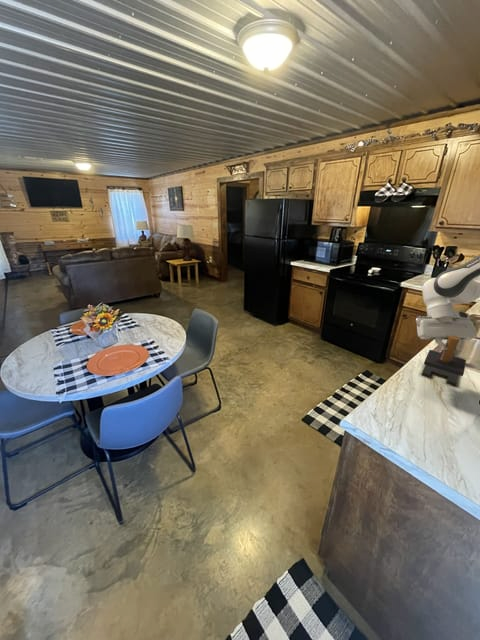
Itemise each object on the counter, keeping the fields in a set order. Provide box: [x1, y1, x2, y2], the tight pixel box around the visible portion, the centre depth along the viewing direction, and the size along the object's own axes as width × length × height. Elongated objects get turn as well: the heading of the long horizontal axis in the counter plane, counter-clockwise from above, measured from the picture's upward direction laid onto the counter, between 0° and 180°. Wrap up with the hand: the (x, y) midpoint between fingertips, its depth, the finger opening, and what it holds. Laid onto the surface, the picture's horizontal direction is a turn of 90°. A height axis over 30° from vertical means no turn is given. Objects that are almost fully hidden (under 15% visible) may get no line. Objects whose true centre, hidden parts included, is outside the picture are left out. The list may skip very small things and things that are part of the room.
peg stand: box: [423, 336, 467, 377], centre depth 101 cm, size 16×12×12 cm
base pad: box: [421, 364, 459, 387], centre depth 116 cm, size 12×12×2 cm
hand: (450, 350), depth 99 cm, fingers closed on peg stand, 3 cm apart
